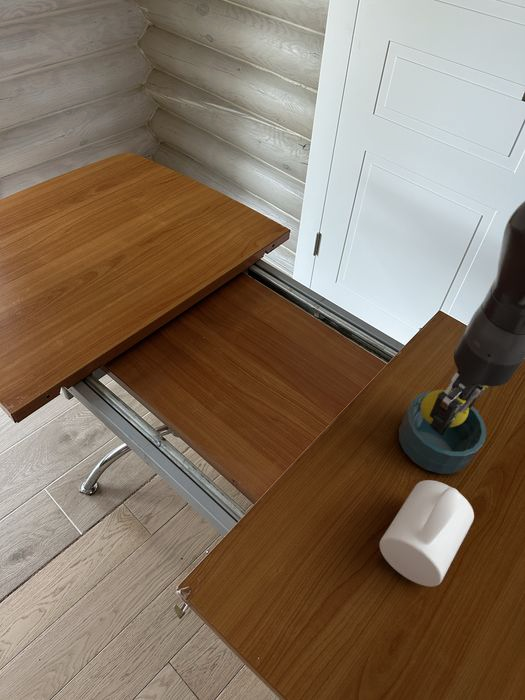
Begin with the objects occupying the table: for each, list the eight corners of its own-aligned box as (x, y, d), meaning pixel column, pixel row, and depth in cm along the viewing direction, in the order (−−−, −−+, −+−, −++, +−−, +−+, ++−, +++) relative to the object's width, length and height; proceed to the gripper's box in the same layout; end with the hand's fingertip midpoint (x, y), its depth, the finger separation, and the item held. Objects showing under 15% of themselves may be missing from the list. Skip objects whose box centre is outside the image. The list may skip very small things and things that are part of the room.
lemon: (423, 433, 78) (468, 438, 72) (404, 409, 77) (448, 411, 70) (439, 405, 81) (484, 407, 74) (420, 381, 79) (465, 381, 72)
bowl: (484, 447, 81) (500, 426, 76) (442, 491, 75) (457, 470, 71) (425, 401, 86) (437, 379, 82) (382, 439, 80) (392, 417, 76)
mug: (372, 553, 68) (396, 514, 59) (407, 497, 74) (434, 454, 65) (428, 595, 65) (462, 561, 56) (461, 534, 71) (496, 494, 62)
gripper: (492, 388, 58) (442, 464, 70) (552, 331, 65) (497, 410, 77) (437, 349, 61) (398, 428, 74) (500, 299, 68) (455, 379, 81)
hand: (449, 418), depth 75 cm, fingers closed on lemon, 5 cm apart
